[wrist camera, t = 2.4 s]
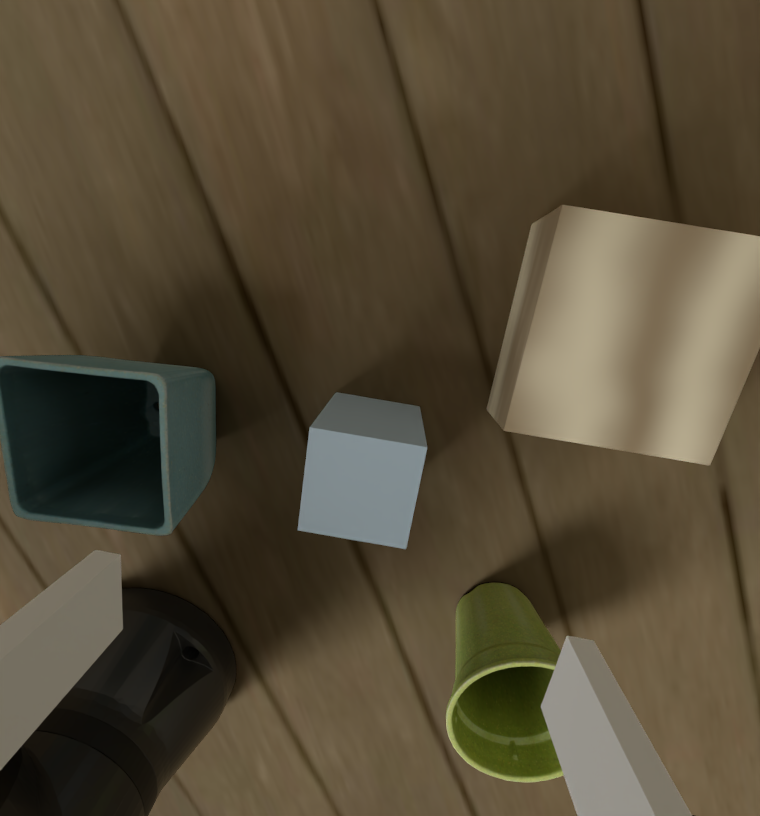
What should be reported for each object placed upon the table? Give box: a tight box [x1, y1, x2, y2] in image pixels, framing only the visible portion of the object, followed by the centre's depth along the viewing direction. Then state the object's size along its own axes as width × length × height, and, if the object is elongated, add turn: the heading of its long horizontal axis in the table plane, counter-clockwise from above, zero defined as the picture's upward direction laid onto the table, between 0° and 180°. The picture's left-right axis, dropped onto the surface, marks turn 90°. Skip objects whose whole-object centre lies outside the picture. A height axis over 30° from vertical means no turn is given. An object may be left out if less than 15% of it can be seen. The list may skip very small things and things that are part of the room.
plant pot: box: [446, 583, 564, 782], centre depth 27 cm, size 9×9×9 cm
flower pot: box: [0, 355, 216, 536], centre depth 23 cm, size 9×9×9 cm
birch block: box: [486, 205, 760, 465], centre depth 23 cm, size 12×12×5 cm
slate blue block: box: [298, 392, 427, 549], centre depth 24 cm, size 6×6×8 cm
